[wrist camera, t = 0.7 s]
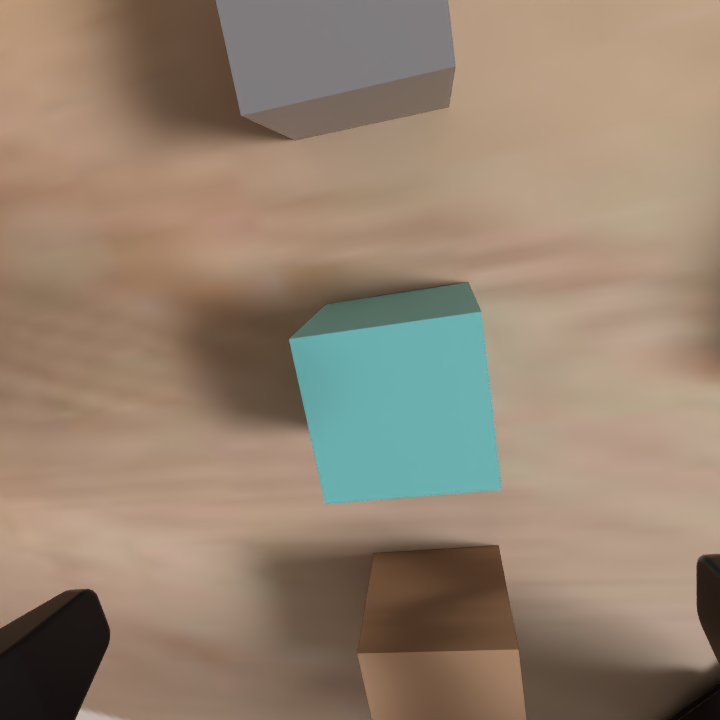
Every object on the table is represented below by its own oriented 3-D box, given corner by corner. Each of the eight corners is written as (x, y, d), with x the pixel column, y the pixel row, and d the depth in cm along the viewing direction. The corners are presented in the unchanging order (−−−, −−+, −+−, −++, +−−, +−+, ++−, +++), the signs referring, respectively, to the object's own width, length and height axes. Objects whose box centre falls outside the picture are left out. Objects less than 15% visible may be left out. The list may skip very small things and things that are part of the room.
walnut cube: (498, 544, 20) (518, 649, 15) (510, 645, 21) (532, 770, 17) (374, 551, 21) (357, 653, 16) (393, 648, 22) (382, 767, 18)
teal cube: (468, 281, 17) (481, 311, 13) (484, 416, 19) (501, 489, 14) (326, 303, 18) (288, 339, 13) (351, 430, 20) (325, 504, 15)
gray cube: (426, -83, 14) (422, -222, 10) (448, 107, 16) (455, 66, 11) (260, -36, 15) (184, -141, 11) (295, 140, 17) (241, 116, 12)
